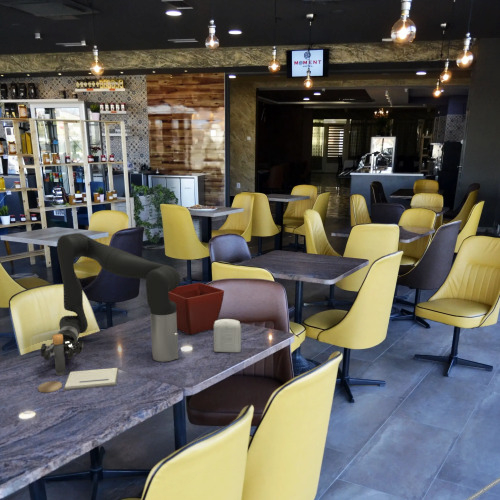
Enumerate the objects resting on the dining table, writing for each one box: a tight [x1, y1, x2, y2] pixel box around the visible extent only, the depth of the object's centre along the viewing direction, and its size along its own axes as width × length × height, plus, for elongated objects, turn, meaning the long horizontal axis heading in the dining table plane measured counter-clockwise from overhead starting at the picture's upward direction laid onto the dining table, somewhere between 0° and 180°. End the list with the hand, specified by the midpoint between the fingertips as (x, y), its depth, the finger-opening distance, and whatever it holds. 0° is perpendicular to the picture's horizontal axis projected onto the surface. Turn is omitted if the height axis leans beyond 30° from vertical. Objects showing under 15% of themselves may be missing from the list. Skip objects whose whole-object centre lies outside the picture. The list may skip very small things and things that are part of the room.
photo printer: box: [213, 318, 242, 353], centre depth 184 cm, size 10×4×12 cm, turn 86°
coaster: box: [37, 380, 63, 394], centre depth 156 cm, size 7×7×1 cm
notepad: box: [63, 367, 120, 391], centre depth 161 cm, size 16×12×1 cm
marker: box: [52, 333, 66, 376], centre depth 165 cm, size 3×3×14 cm
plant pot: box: [169, 282, 225, 335], centre depth 208 cm, size 19×19×17 cm
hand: (57, 356), depth 163 cm, fingers open, 6 cm apart
